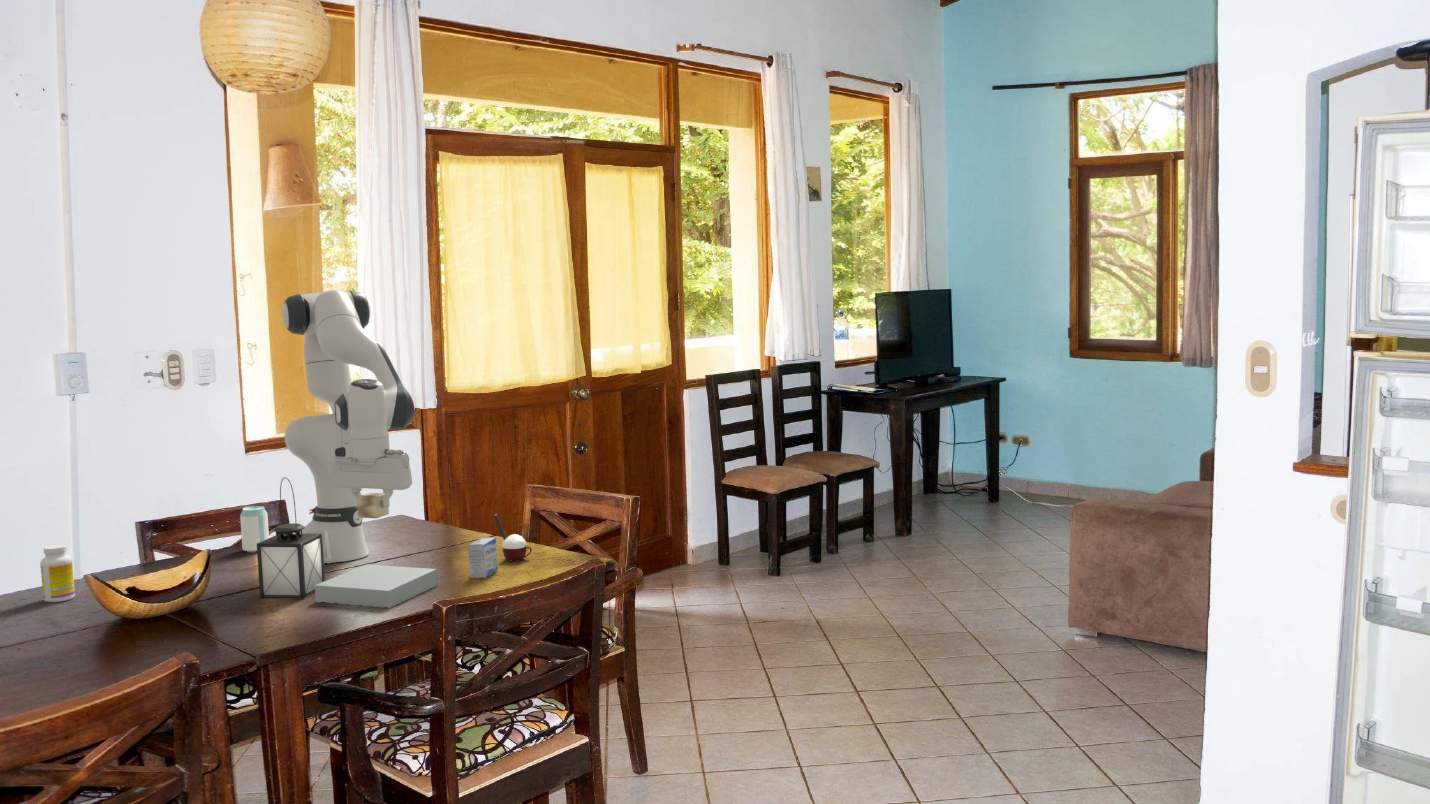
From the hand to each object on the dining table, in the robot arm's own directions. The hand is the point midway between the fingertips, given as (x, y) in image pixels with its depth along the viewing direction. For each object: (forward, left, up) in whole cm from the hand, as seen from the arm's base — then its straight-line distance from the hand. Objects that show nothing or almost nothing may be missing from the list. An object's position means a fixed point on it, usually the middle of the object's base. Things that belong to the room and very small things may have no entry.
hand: (373, 506), depth 273 cm
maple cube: (0, 0, -2) cm, 2 cm away
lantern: (-21, -4, -21) cm, 30 cm away
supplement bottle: (-73, -23, -21) cm, 79 cm away
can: (-61, +31, -21) cm, 72 cm away
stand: (0, 0, -21) cm, 21 cm away
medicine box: (+16, +22, -21) cm, 34 cm away
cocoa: (+16, +38, -21) cm, 46 cm away
